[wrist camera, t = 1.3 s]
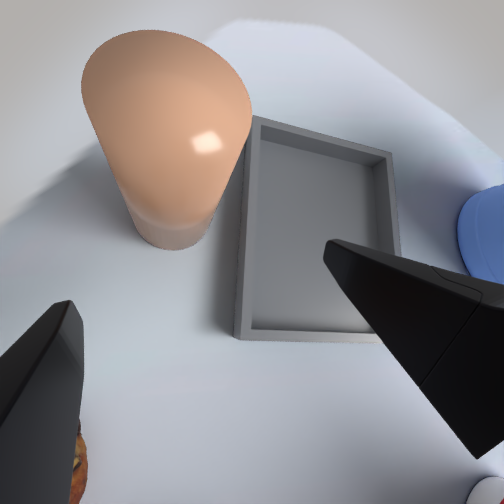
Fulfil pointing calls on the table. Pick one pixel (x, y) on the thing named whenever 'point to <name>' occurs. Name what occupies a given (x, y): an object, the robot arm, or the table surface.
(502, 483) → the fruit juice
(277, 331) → the grey tray
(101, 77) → the peach rounded cylinder
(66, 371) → the robot arm
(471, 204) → the water jug
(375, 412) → the table surface
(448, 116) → the table surface
